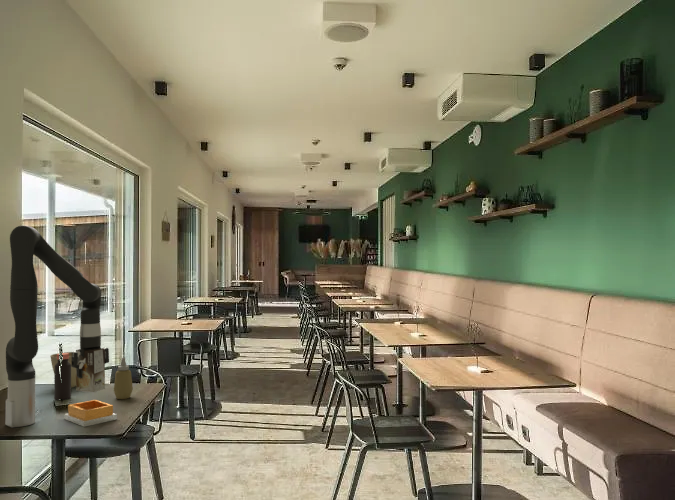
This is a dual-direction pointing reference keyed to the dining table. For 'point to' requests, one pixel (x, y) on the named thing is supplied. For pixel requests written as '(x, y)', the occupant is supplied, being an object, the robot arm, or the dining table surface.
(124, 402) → the dining table surface
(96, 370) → the coffee box
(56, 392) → the vinegar
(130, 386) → the squeeze bottle
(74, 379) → the plant pot
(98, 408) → the orange open box
